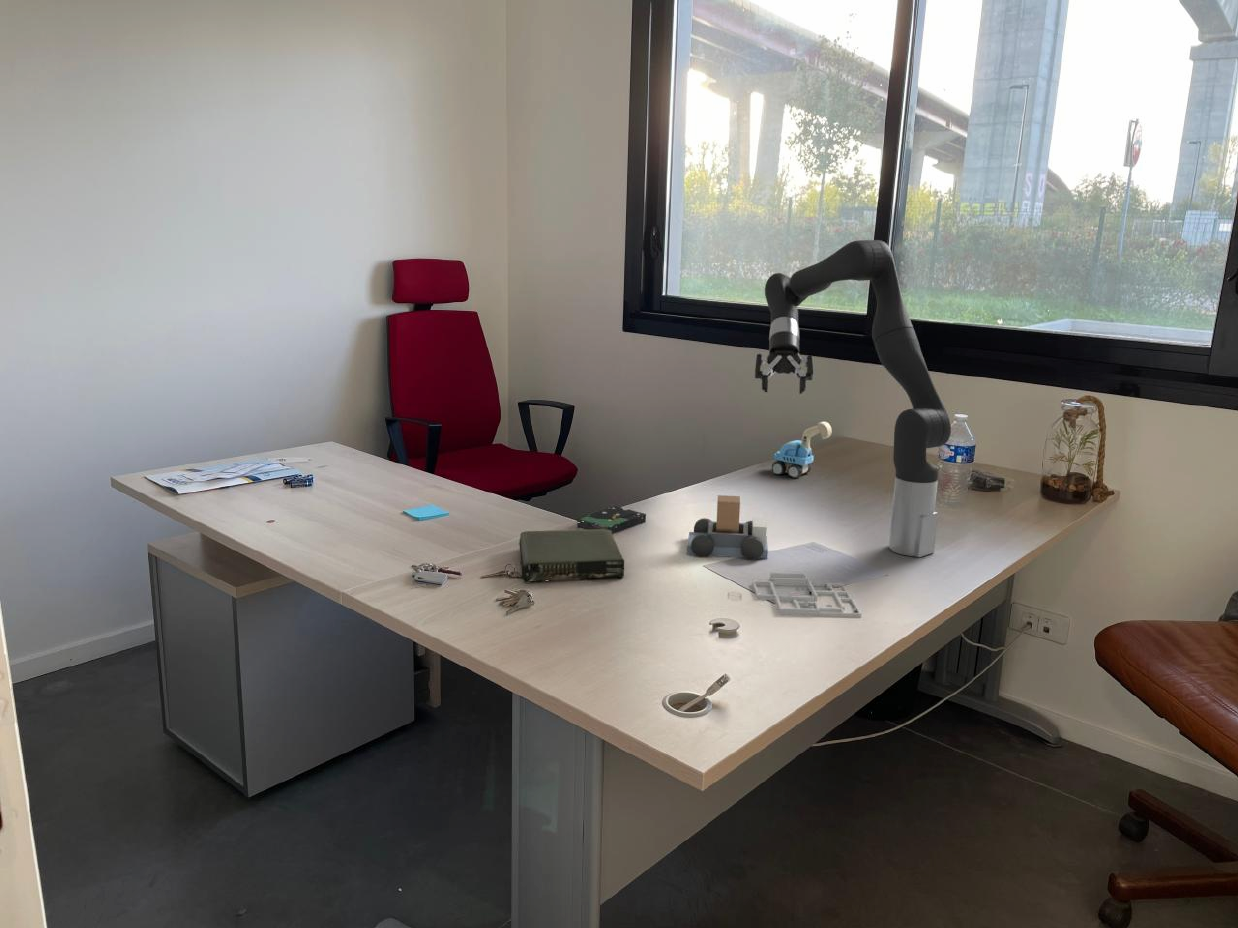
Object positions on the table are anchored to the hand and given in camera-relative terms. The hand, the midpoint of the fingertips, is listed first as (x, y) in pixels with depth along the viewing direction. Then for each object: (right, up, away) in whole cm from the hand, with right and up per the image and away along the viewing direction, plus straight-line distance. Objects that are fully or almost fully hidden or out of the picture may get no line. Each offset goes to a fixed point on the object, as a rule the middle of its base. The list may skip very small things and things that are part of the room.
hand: (783, 391), depth 228 cm
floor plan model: (-7, -45, -43) cm, 63 cm away
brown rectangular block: (-16, -35, -16) cm, 42 cm away
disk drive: (-42, -34, +1) cm, 54 cm away
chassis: (-16, -37, -16) cm, 44 cm away
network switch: (-51, -40, -26) cm, 71 cm away
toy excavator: (+14, -22, +49) cm, 55 cm away
